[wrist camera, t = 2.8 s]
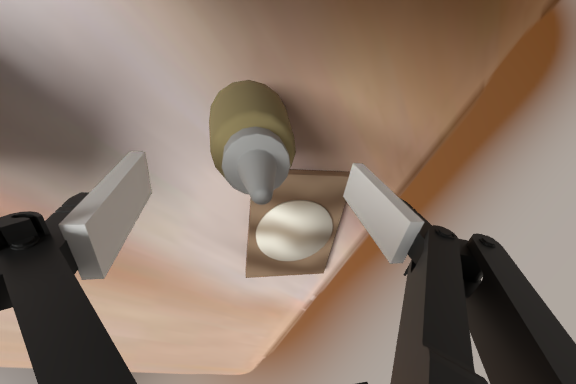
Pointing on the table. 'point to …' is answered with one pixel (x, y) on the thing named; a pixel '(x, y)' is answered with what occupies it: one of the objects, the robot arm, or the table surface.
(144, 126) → the table surface
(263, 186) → the squeeze bottle
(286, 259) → the walnut board
